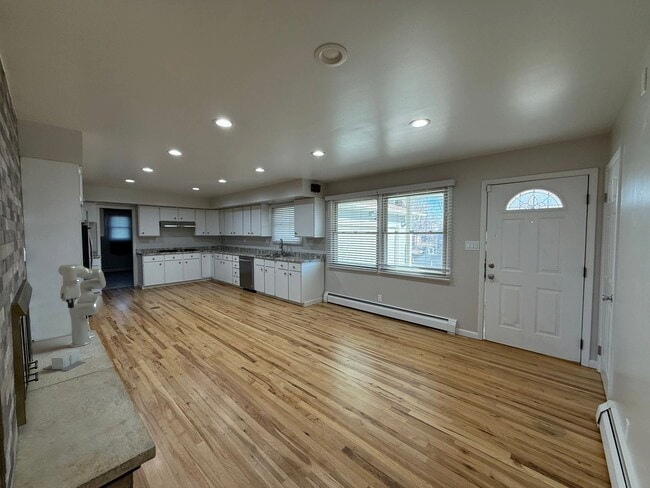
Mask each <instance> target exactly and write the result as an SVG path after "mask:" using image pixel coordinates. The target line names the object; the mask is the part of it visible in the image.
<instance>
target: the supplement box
mask: <svg viewBox="0 0 650 488" xmlns="http://www.w3.org/2000/svg"><path fill="white" fill-rule="evenodd" d="M78 361H81V349H69V350H65V351H64V352H61V353H60V354H57V355H56V356H53V357H51V365H52V369H64V368H66V367H68V366H70V365H72V364H74V363H76V362H78Z"/></svg>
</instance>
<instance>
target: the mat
mask: <svg viewBox="0 0 650 488" xmlns="http://www.w3.org/2000/svg"><path fill="white" fill-rule="evenodd" d="M86 363H87V362H86V361H81V360H80V361H78V362H76V363H74V364H72V365H70V366H68V367H66V368H64V369H52V364H50V365H47V366H46V367H45V366H44V367H43V368H42V369H43V370H48V371H49V370H50V371H59V372H68V371H70V370H72V369H75V368H78V367H80V366H82V365H83V364H86Z"/></svg>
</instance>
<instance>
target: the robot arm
mask: <svg viewBox="0 0 650 488" xmlns="http://www.w3.org/2000/svg"><path fill="white" fill-rule="evenodd" d="M58 274H59V275H61V276H62V285H61V287H60V294H59V295H60V297H59V298H60V300H61V302H65V303H67V308H68V309H69V310H68V312H69V316H70V322H71V343H69V347H70V348H79V347H82V346H83V345H84V346H86V345H89V344H90V343H92V339H93V338H95V334H93V335H89V321H88V319H87V317H86V316H94V315H96V314H98V312H99V310H100V308H101V306H102V304H103V300H104V299H103V296H102V295H101V294H95V293H94V292H93V290H102V289H104V288H106V286H107V282H106V277H105V276H104V275H105V274H104V272H103V270H102V269H101V268H88V267H85V266H84V265H82V264H81V263H79V264H78V263H77V264H62V265H60V266H58ZM78 278H80V279H83V280H81V281H80V284H78V282H79V280H78ZM75 301H76V303H75Z"/></svg>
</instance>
